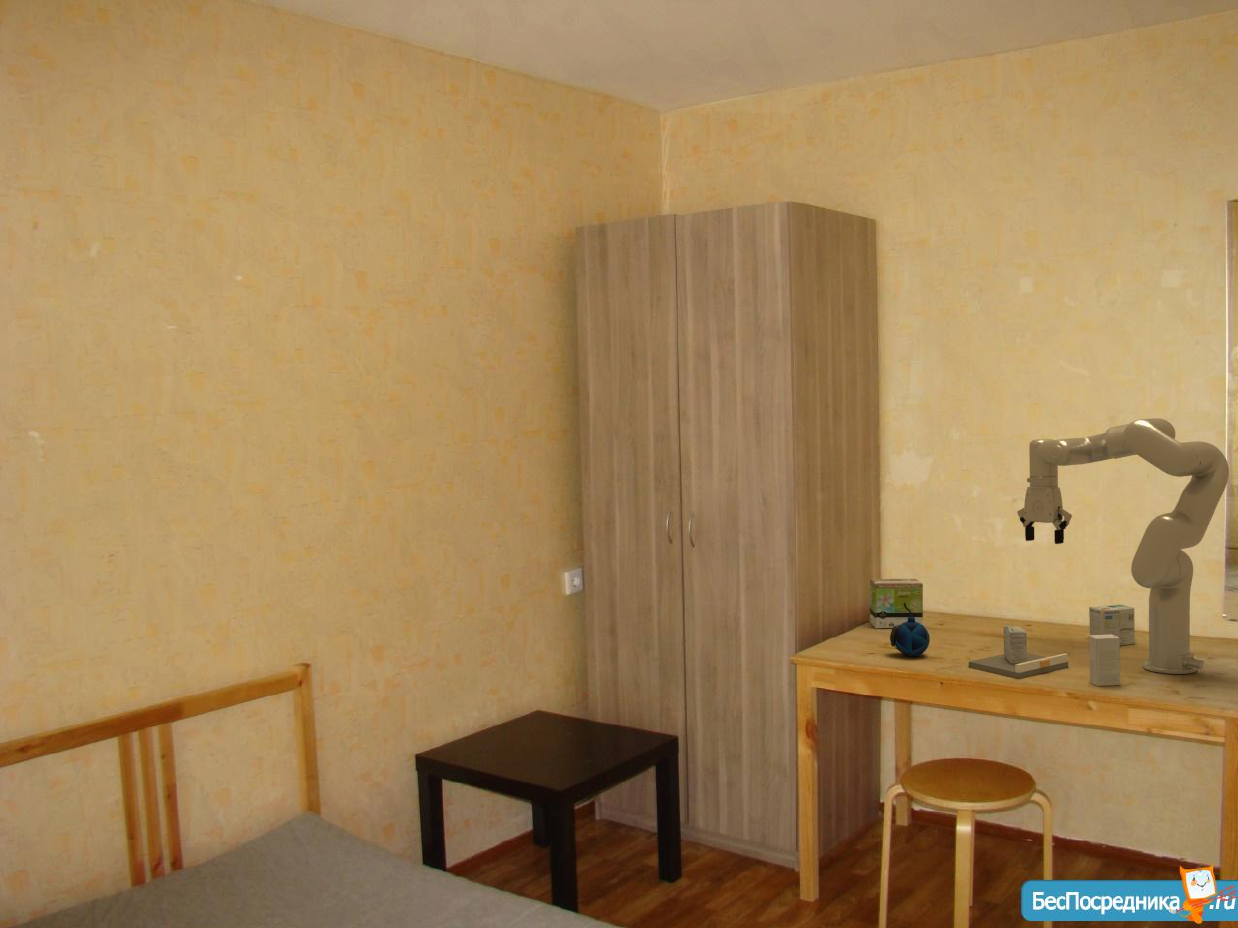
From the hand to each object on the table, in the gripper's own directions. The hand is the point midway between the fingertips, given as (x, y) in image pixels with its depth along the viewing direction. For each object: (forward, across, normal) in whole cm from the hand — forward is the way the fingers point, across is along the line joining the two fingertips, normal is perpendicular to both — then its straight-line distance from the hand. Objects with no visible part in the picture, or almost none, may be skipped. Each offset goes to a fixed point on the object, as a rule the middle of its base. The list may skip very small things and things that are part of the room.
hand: (1044, 541), depth 310 cm
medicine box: (+29, +10, -26) cm, 40 cm away
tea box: (+31, -48, -10) cm, 58 cm away
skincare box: (+31, +35, -24) cm, 52 cm away
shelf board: (+30, +11, -26) cm, 41 cm away
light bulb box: (+31, +9, +18) cm, 37 cm away
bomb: (+31, -16, -38) cm, 51 cm away
